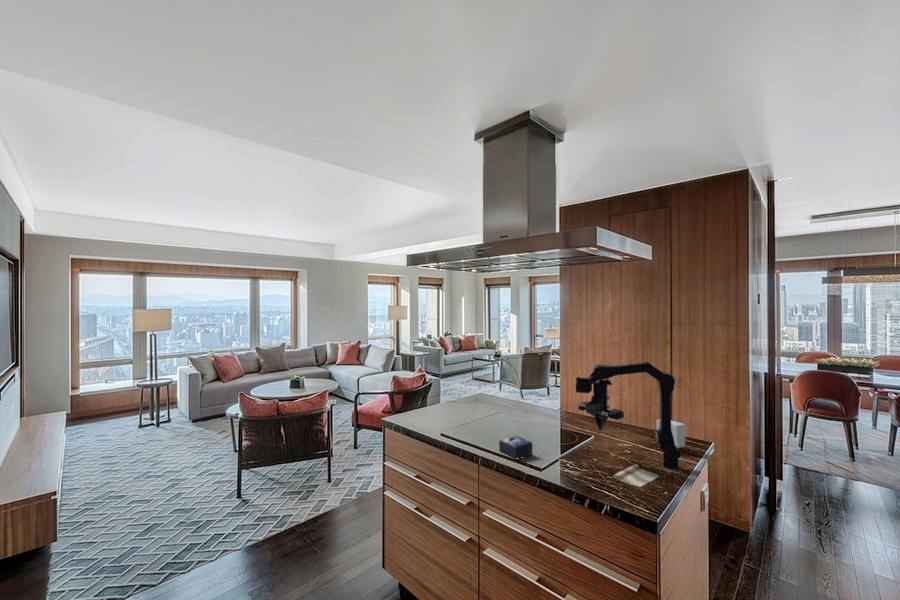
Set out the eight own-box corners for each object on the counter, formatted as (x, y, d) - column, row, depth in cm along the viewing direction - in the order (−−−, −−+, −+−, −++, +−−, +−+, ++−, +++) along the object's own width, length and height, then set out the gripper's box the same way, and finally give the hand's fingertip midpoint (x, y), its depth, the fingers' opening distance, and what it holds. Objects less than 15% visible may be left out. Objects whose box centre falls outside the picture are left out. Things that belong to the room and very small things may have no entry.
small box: (532, 441, 165) (515, 447, 160) (533, 456, 165) (515, 462, 160) (515, 434, 174) (498, 439, 168) (516, 448, 174) (499, 454, 168)
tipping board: (635, 467, 154) (635, 464, 154) (659, 476, 146) (659, 472, 146) (613, 478, 145) (613, 474, 145) (638, 489, 137) (638, 484, 137)
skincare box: (685, 446, 176) (685, 423, 176) (677, 448, 173) (677, 425, 173) (664, 438, 186) (664, 417, 186) (655, 441, 183) (655, 419, 183)
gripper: (570, 392, 167) (570, 427, 167) (609, 401, 152) (609, 440, 152) (585, 389, 174) (585, 422, 174) (624, 397, 159) (624, 434, 159)
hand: (600, 429), depth 164 cm, fingers closed
